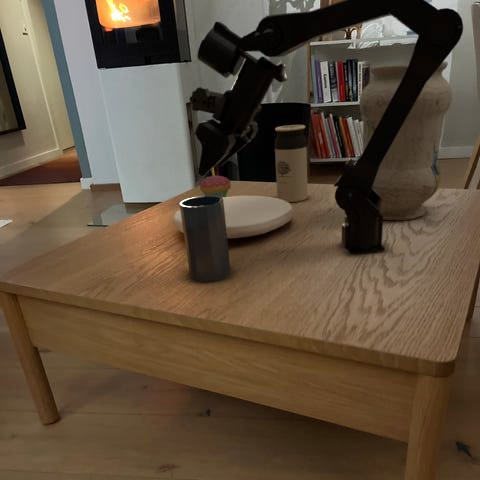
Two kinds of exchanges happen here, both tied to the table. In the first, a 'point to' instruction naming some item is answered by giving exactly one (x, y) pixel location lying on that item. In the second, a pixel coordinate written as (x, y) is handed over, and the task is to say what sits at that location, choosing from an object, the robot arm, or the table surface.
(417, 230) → the table surface
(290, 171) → the travel mug
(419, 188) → the vase
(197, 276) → the cup
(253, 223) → the plate
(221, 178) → the cupcake
